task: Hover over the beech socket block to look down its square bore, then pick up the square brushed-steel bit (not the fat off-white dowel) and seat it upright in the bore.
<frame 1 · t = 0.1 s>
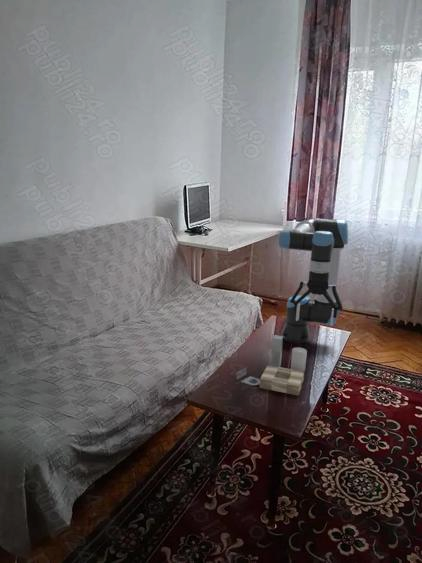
hand: (314, 322, 168), 28 cm above the table, fingers open, 13 cm apart
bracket: (249, 381, 177), on the table
socket block: (281, 383, 175), on the table
steel bit: (275, 365, 191), on the table
plastic dowel: (297, 368, 189), on the table
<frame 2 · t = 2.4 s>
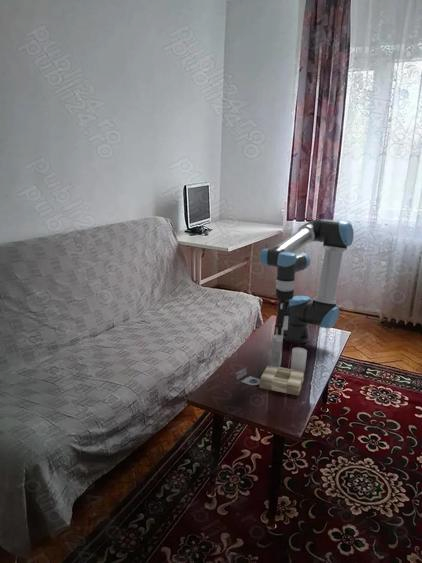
hand: (281, 335, 182), 17 cm above the table, fingers open, 13 cm apart
nothing on the table moved.
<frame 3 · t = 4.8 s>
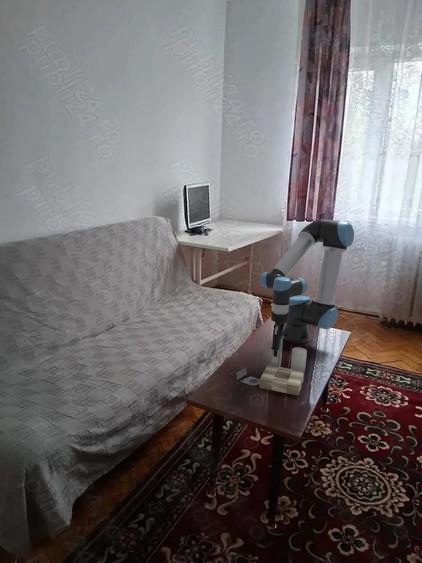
hand: (276, 360, 191), 3 cm above the table, fingers closed on steel bit, 4 cm apart
steel bit: (275, 365, 191), on the table, touching gripper
everything else where it was.
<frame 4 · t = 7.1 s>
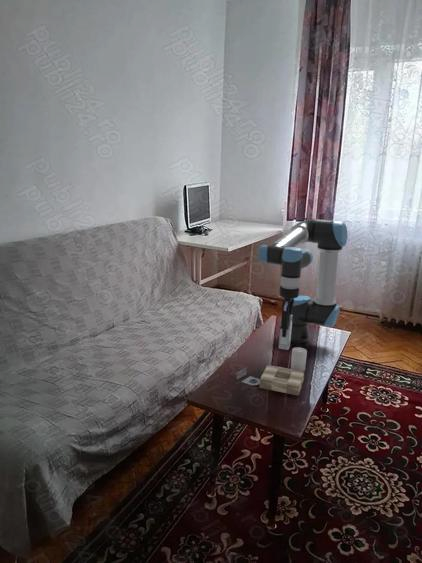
hand: (284, 341, 170), 19 cm above the table, fingers closed on steel bit, 4 cm apart
steel bit: (284, 347, 171), point 16 cm above the table, touching gripper
everything else where it was.
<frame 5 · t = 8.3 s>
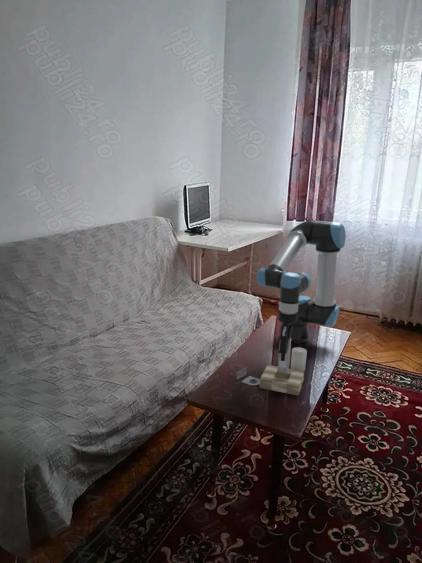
hand: (283, 364, 173), 9 cm above the table, fingers closed on steel bit, 4 cm apart
steel bit: (282, 370, 173), point 6 cm above the table, touching gripper
everything else where it was.
when the fingers open (5 cm above the table, at t = 9.3 s): steel bit drops 2 cm, resting in socket block.
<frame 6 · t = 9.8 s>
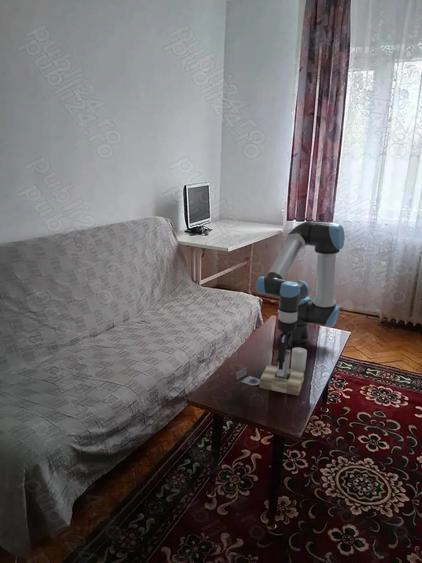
hand: (283, 369, 173), 7 cm above the table, fingers open, 11 cm apart
steel bit: (281, 383, 175), resting in socket block
everything else where it was.
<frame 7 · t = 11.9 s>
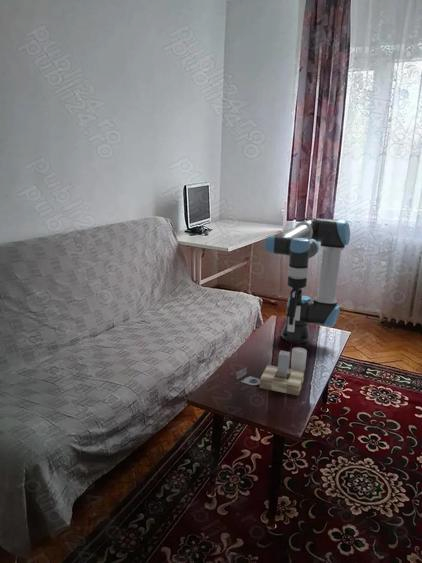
hand: (293, 325, 174), 24 cm above the table, fingers open, 13 cm apart
nothing on the table moved.
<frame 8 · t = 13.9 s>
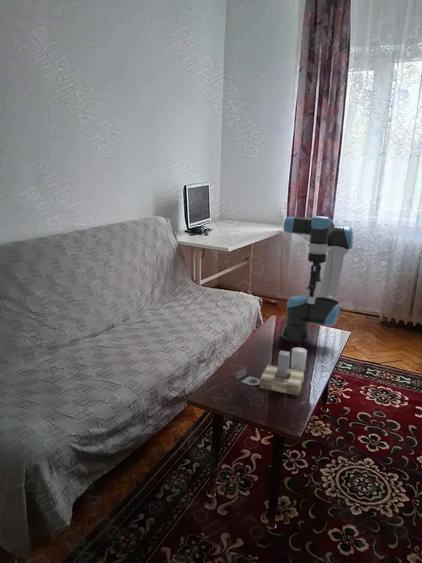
hand: (312, 299, 185), 32 cm above the table, fingers open, 13 cm apart
nothing on the table moved.
at the end: steel bit 0.1 cm off-centre on the socket block, point 0.0 cm above the socket block's base; steel bit tilted 0°; the gripper is holding nothing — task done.
